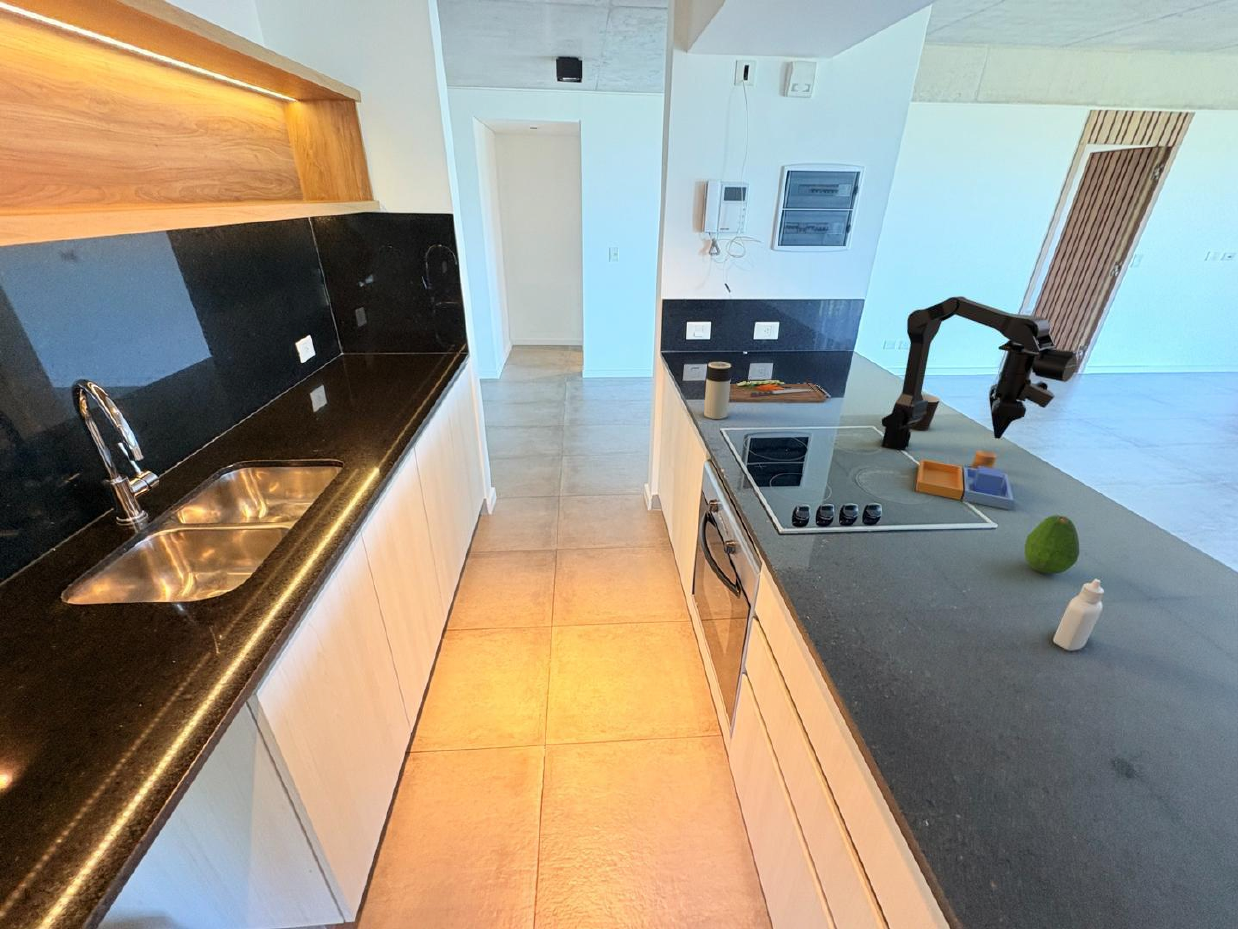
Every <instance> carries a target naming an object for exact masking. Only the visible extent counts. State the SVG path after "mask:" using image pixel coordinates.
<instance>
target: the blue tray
mask: <svg viewBox="0 0 1238 929" xmlns="http://www.w3.org/2000/svg"><path fill="white" fill-rule="evenodd" d="M976 471H977V469H973V468H972V467H968V466H967V467H966V466H963V467H962V477H963V493H962V496H961V500H962V501H964V502H969V503H973V504H978V505H984V506H989V507H992V508H993V507H994V508H998V509H1003V510H1008V511H1011V510H1012V507H1013V504H1014V501H1015V500H1014V496H1013V492H1012V488H1011V483H1010V479H1009V474H1005V473H1003V477H1004V478H1003V481H1002V484H1001V487H1000V490H999V493H998V496H996V495H990V494H985V493H980V492H975V491H973V481H974V478H975V474H976Z"/></svg>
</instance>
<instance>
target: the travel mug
mask: <svg viewBox="0 0 1238 929" xmlns="http://www.w3.org/2000/svg"><path fill="white" fill-rule="evenodd" d="M731 367H732V364H731V363H729V362H724V361H712V362H709V363H708V371H707V373H706V381H705V382H706V383H705V394H704V396H705V397H704V410H703V415H704V417H706V418H709V419H711V420H723V419H726V418H727V417H728V414H729V404H730V402H729V393H730V382H731V379H732V373H731V371H730V370H731Z"/></svg>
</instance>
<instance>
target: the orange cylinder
mask: <svg viewBox="0 0 1238 929" xmlns="http://www.w3.org/2000/svg"><path fill="white" fill-rule="evenodd" d="M997 457H998V455H997V454H996V453H995V452H992V451H989V450H983V449H982V450H981V449H980V450H976V452H975V456H974V460H973V462H972V464H971V468H973V469H977V468H978V466H983V467H989V468H994V466H995V463H996V460H997Z"/></svg>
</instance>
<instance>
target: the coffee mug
mask: <svg viewBox="0 0 1238 929" xmlns="http://www.w3.org/2000/svg"><path fill="white" fill-rule="evenodd" d="M921 394H922V397H923V400H928V405H927V407H926V412H927V414H924V416H923V418H922V419H921V420H919V421H917V422H916V424H915V425H914V426H910V430H914V431H918V432H920V431H921V432H924V431H927V430H929V428H930V426H931V424H932V422H933V419H934V416H935V413H936V411H937V408H938V406H939V404H940V401H941V398H939V397H937V396H935V395H931V394H925V393H921Z"/></svg>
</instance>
